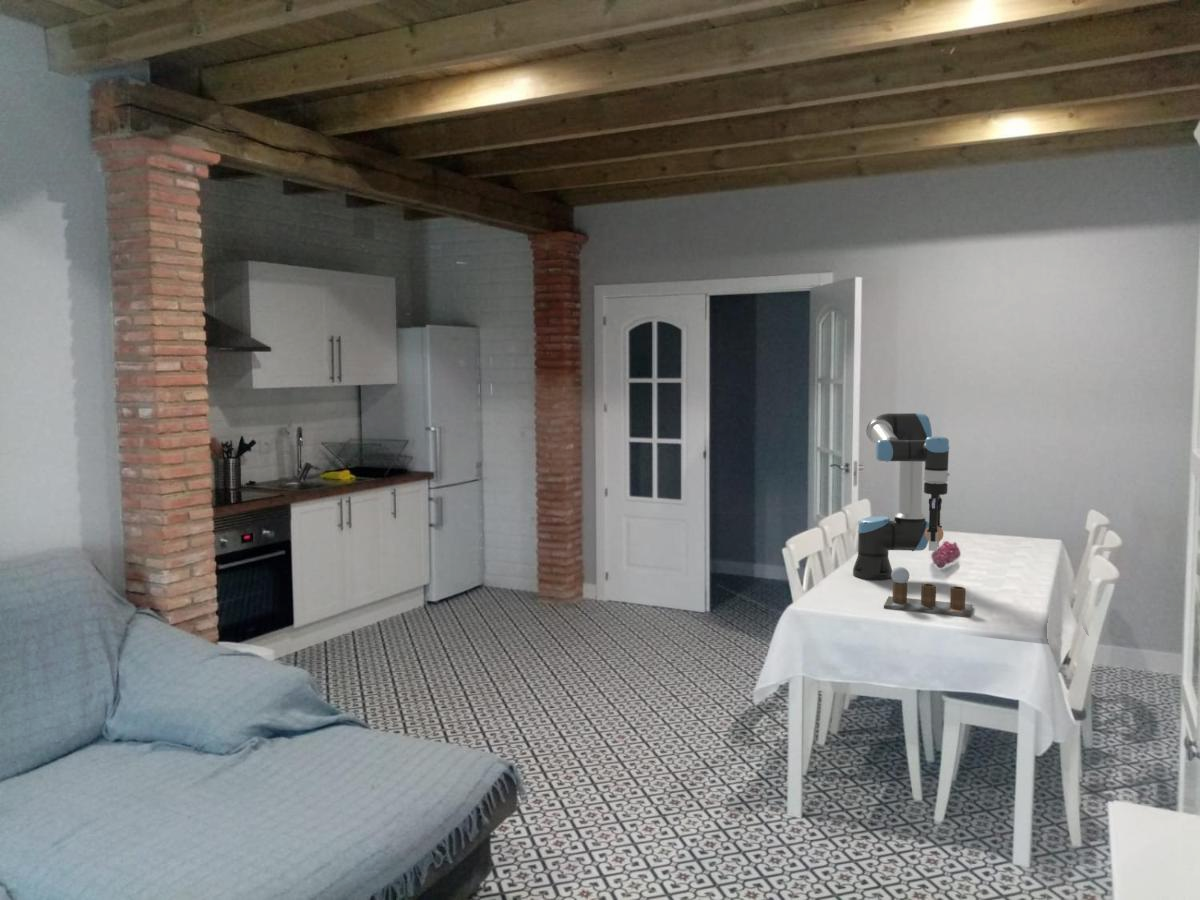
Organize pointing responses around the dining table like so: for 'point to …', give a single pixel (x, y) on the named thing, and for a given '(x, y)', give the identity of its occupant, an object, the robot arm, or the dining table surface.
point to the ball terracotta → (940, 534)
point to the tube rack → (929, 601)
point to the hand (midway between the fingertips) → (933, 548)
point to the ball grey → (900, 575)
